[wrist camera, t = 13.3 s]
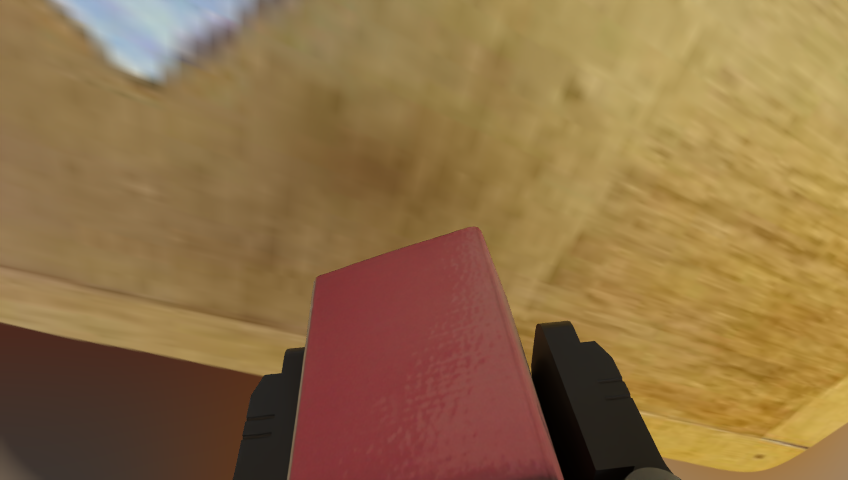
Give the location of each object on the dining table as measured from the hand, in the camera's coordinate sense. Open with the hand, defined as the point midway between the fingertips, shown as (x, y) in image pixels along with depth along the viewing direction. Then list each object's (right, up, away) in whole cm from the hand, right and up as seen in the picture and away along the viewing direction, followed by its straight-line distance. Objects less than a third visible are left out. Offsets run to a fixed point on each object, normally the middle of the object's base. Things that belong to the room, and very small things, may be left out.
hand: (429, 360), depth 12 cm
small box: (0, +1, +1) cm, 2 cm away
